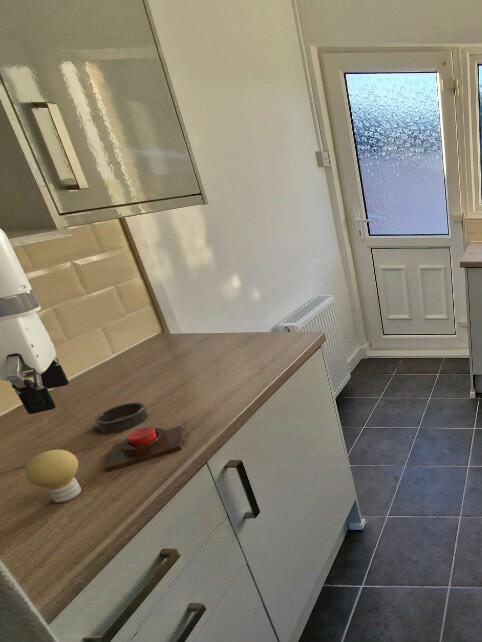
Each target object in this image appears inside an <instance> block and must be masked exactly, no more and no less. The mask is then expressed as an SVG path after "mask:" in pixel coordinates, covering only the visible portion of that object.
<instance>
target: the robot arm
mask: <svg viewBox="0 0 482 642" xmlns="http://www.w3.org/2000/svg"><path fill="white" fill-rule="evenodd" d="M41 309H42V307H41V305H40V303H39V301H38V298H37V296H36V294H35V292H34V290H33V288H32V286H31V284H30V282H29V280H28V277H27V276H26V273H25V271H24V269H23V267H22V265H21V263H20V261H19V259H18V256H17V255H16V253H15V249H14V248H13V246H12V243H11V242H10V239H9V238H8V236H7V233H5V231H4V230H3V229H2V228H0V380H1V381H4V382H10V384H11V388H12V389H14V393H15V394H16V395H17V397H18V398H19V400H20V402H21V404H22V406H23V407H24V409H25V410H26V411H25V412H26V413H27V414H28V415H33V414H38V413H42V412H46V411H47V412H48V411H51V410H54V409H55V408H56V407H57V405H56V403H55V401H54V399H53V396H52V395H51V393H50V391H49V390H50V389H51V390H52V389H55V388H61V387H65V386H68V385H69V383H70V380H69V379H68V377H67V375H66V373H65V371H64V368H63V367H62V365H61V364H60V361H59V358H58V357H56V356H57V351H56V349H55V345H54V343H53V340H52V339H51V336H50V334H49V333H48V331H47V329H46V327H45V325H44V324H43V322H42V320H41V318H40V317H39V315H38V313H37V312H39V311H40V310H41ZM29 378H30V379H29ZM31 378H33V380H31Z"/></svg>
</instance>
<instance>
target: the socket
mask: <svg viewBox="0 0 482 642" xmlns="http://www.w3.org/2000/svg"><path fill="white" fill-rule="evenodd" d="M128 415H129V416H128ZM124 416H126V417H124ZM121 417H123V418H121ZM119 418H121V419H119ZM148 418H149V413H148V410H147V408H146V405H145V404H144V403H142V402H138V401H137V402H127V403H122V404H119V405H116V406H113V407H111V408H108V409H106V410H104V411H102V412H101V413H99V414H98V415H97V416H96V418H95V420H94V422H95V423H96V425H97V428H98V430H99V432H101V433H102V434H114V433H115V434H116V433H121V432H124V431H127V430H130V429H133V428H135V427H137V426H139V425H141V424H142V423H144V422H145V421H146V420H147V419H148Z"/></svg>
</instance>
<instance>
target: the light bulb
mask: <svg viewBox="0 0 482 642" xmlns="http://www.w3.org/2000/svg"><path fill="white" fill-rule="evenodd" d="M78 468H79V461H78V458H77V456H76V455H75V454H74V453H72V452H70V451H68V450H66V449H65V450H64V449H52V450H47V451H45V452H41V453H39V454H37V455H36V456H34V457H33V458H32V459H31V460H29V461H28V462H27V464H26V466H25V471H24V473H25V477H26V479H27V481H28V482H29V483H31V484H32V485H34V486H38V487H40V488H45V489H47V493H49V495H50V497H51V498H52V500H53V502H55V503H65V502H70V501H71V500H73V499H75V498H76V497H78V496H79V495H80V494H81V492H82V487H81V485H80V484H79V482H78V480H77V479H76V477H75V475H76V474H77V471H78Z"/></svg>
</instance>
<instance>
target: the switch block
mask: <svg viewBox="0 0 482 642" xmlns="http://www.w3.org/2000/svg"><path fill="white" fill-rule="evenodd" d="M153 428H154V427H153ZM154 430H155V432H156V434H157V437H156V438H155V439H154V440H152V441H150V442H148V443H145V444H142V445H139V446H132V445H131V444H130V442H129V440H128V437H127V438H125V439H124V440H122V442H119V443H114V444H113V445H112V448H111V451H110V455H109V457H108V461H107V464H106V468H105V469H106V470H107V472H108V473H111V472H114V471H117V470H120V469H121V470H122V469H124V468H127V467H130V466H134V465H138V464H140V463H143V462H144V463H145V462H146V461H150V460H153V459H156V458H160V457H163V456H165V455H170V454H172V453H176V452H179V451H183V450H182V449H183V435H184V429H183V426H182V425H179V426H175V427H172V428H169V429H164V428H160V427H157V428H154Z"/></svg>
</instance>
